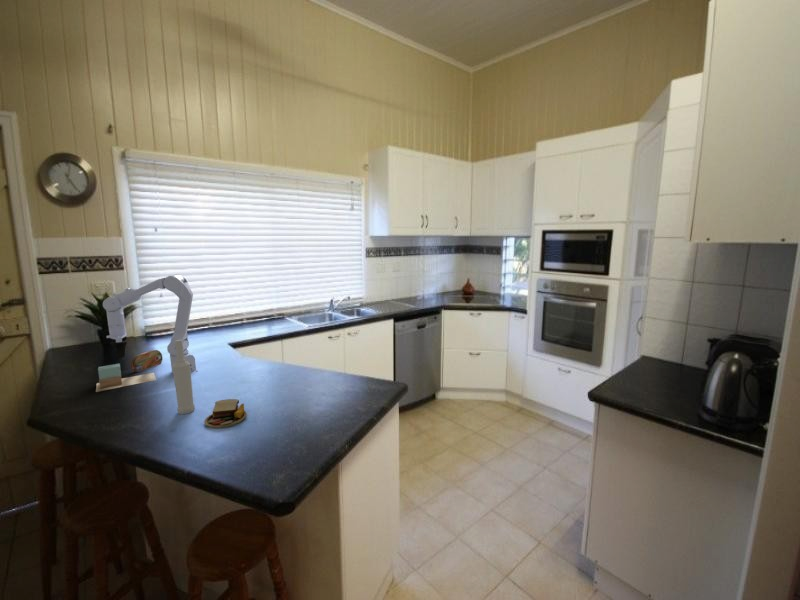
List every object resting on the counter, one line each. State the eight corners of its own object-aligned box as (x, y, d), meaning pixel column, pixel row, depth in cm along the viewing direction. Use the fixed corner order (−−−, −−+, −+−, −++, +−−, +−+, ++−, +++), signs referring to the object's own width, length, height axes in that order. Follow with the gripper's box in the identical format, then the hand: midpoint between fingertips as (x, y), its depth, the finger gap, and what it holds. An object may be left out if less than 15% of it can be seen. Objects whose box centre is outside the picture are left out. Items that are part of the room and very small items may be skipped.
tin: (136, 375, 168) (134, 357, 167) (130, 375, 169) (128, 356, 167) (164, 364, 183) (161, 348, 181) (158, 364, 183) (156, 347, 182)
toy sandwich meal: (198, 431, 115) (196, 416, 115) (214, 412, 129) (213, 399, 128) (240, 428, 117) (239, 413, 116) (252, 409, 130) (251, 396, 129)
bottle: (191, 406, 133) (183, 337, 129) (197, 410, 130) (189, 339, 126) (175, 411, 129) (166, 340, 125) (181, 415, 126) (172, 343, 122)
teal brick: (121, 375, 154) (119, 366, 154) (99, 379, 150) (98, 370, 149) (120, 372, 158) (119, 363, 157) (99, 376, 154) (98, 367, 153)
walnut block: (122, 384, 154) (120, 376, 153) (100, 388, 150) (99, 380, 149) (121, 380, 159) (120, 372, 159) (100, 384, 155) (99, 375, 155)
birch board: (154, 374, 168) (153, 372, 168) (156, 382, 159) (156, 379, 158) (96, 385, 156) (96, 383, 156) (96, 394, 147) (95, 391, 146)
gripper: (105, 323, 164) (109, 353, 166) (104, 328, 152) (109, 361, 154) (125, 321, 168) (128, 350, 170) (126, 326, 157) (130, 357, 159)
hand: (121, 355), depth 162 cm, fingers open, 7 cm apart
